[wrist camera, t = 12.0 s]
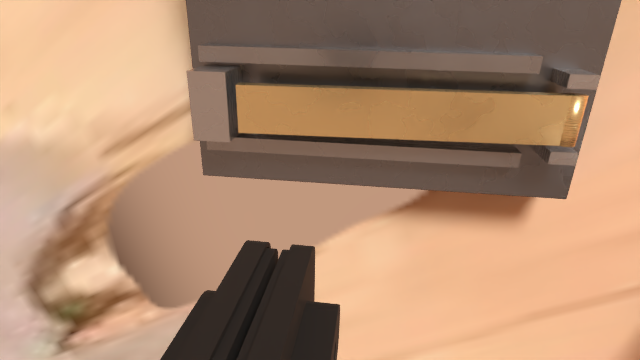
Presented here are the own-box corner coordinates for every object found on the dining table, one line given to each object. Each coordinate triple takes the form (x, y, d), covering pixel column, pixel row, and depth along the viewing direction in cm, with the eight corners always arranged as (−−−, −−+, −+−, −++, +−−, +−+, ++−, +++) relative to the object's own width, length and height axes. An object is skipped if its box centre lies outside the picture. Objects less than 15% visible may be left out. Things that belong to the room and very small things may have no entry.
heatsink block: (644, -225, 23) (753, -318, 16) (544, 177, 32) (588, 221, 26) (192, -209, 26) (128, -282, 19) (221, 157, 35) (185, 192, 28)
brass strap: (582, 93, 25) (592, 97, 23) (569, 141, 26) (579, 147, 25) (239, 81, 26) (234, 85, 25) (242, 128, 27) (237, 133, 26)
